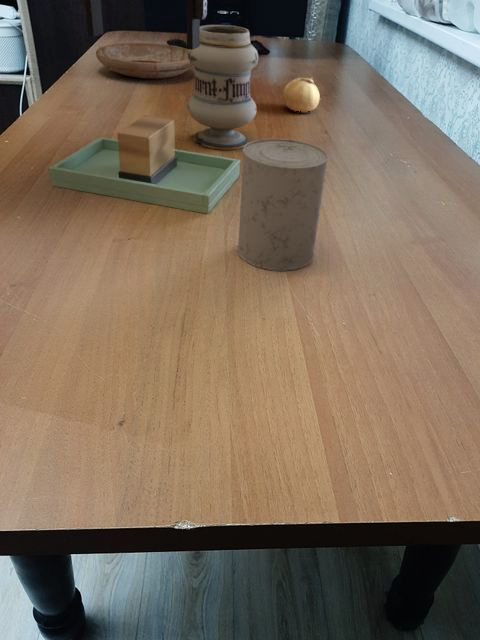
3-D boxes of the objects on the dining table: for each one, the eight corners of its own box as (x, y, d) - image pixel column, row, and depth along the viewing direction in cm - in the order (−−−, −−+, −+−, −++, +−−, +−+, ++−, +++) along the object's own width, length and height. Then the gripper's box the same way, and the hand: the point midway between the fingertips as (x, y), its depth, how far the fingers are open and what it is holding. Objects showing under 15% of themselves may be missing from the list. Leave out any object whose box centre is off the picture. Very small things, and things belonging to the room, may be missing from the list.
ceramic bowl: (111, 60, 149) (109, 38, 146) (201, 68, 149) (201, 47, 146) (86, 79, 130) (83, 55, 127) (188, 89, 131) (188, 65, 128)
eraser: (151, 188, 81) (149, 138, 77) (119, 182, 82) (115, 132, 77) (177, 165, 89) (176, 119, 84) (147, 160, 89) (144, 114, 85)
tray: (51, 185, 81) (48, 167, 80) (101, 152, 93) (100, 136, 92) (208, 214, 78) (208, 195, 76) (239, 176, 90) (240, 159, 88)
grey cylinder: (329, 255, 71) (346, 157, 63) (276, 279, 65) (287, 174, 58) (275, 228, 76) (284, 133, 68) (221, 247, 70) (224, 147, 63)
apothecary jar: (174, 137, 103) (171, 23, 92) (223, 127, 110) (227, 20, 99) (218, 156, 96) (222, 37, 85) (268, 144, 103) (277, 32, 93)
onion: (282, 114, 120) (285, 78, 116) (280, 104, 126) (283, 69, 122) (319, 117, 121) (324, 81, 116) (315, 107, 127) (319, 72, 123)
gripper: (254, -166, 63) (243, 48, 75) (47, -182, 66) (71, 25, 79) (235, -176, 57) (226, 58, 70) (9, -193, 60) (41, 33, 73)
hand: (143, 41), depth 74 cm, fingers open, 13 cm apart
